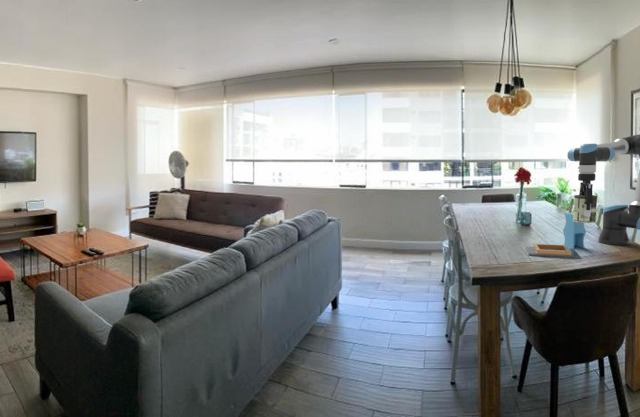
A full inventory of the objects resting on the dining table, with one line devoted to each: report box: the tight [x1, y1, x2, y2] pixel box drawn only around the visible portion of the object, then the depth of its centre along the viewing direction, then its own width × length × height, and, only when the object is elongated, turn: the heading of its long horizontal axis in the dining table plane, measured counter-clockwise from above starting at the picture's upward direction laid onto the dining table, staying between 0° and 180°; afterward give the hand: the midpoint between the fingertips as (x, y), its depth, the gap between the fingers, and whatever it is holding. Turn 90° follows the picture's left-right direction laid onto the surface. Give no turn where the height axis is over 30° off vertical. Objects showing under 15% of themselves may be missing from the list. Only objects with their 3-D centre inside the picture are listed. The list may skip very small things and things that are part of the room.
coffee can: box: [573, 194, 598, 224], centre depth 212 cm, size 10×10×14 cm
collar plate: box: [525, 243, 581, 259], centre depth 221 cm, size 24×17×3 cm
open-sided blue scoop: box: [562, 212, 587, 250], centre depth 232 cm, size 8×8×20 cm
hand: (584, 214), depth 212 cm, fingers closed on coffee can, 10 cm apart
